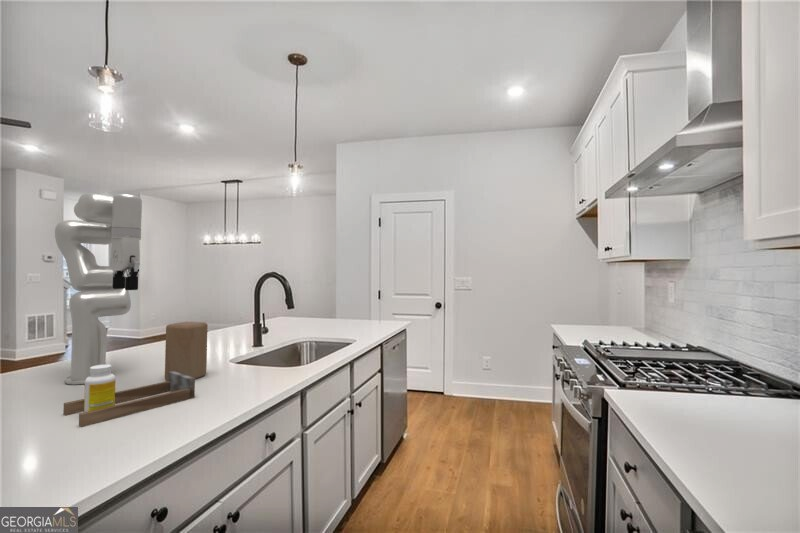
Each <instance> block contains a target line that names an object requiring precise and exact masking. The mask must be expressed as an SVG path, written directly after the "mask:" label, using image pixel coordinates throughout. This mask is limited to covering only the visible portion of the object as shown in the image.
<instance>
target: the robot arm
mask: <svg viewBox="0 0 800 533" xmlns="http://www.w3.org/2000/svg"><path fill="white" fill-rule="evenodd" d="M142 206H143V201H142V198H141V197H140V196H138V195H135V194H128V193H116V194H114V195H108V194H103V193H96V192H95V193H94V192H90V193H89V192H87V193H83V194H81V195H80V197H79V198H78V201H77V202H76V203H75V204H74V207H73V213H74V215H75V216H76V217H77V219H75V220H74V219H72V220H71V219H69V220H62V221H60V222H58V223H57V224H56V226H55V228H54V238H55V243H56V245H57V248H58V250H59V252H60V253H61V254H62V256H63V257H64V260H65V263H66V267H67V272H68V278H69V282H70V286H71V288H72V289H73V290H75V291H77V292H75V293H74V294H72V295H71V296H70V298H69V300H68V302H69V303H68V305H69V312H70V316H71V317H70V318H71V352H70V355H71V356H70V358H71V359H70V360H71V361H70V376H68V377H66V378H65V379H64V383H65V384H67V385H85V380H86V378H88V377H89V376H90V375H91V373H90V367H92V366H96V365H107V364H106V362H107V358H106V357H107V327H106V326H105V324H104V323H103V322H102V321H101V320H100V319H99V318H102V317H113V316H114V317H116V316H123V315H126V314H127V313H129V311H130V310H131V306H132V303H131V294H130V293H129V292H130V291H138V290H139V275H140V274H139V273H140V265H141V264H140V262H141V261H140V257H141V256H140V254H141V253H140V241H141V240H142V217H143V216H142V211H143V207H142ZM78 219H79V220H78ZM83 244H87V245H88V244H89V245H102V246H103V245H104V246H105V245H111V248H110V249H111V250H110V259H109V265H100V264H99V265H98V263H97V260H96V256H95V255H94V253H93V252H92V251H91V250H89V249H88V248H87V247H86V246H84V245H83ZM125 274H126V276H125Z"/></svg>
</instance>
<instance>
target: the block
mask: <svg viewBox="0 0 800 533" xmlns="http://www.w3.org/2000/svg"><path fill="white" fill-rule="evenodd" d="M208 325H209V324H208V323H207V322H205V321H204V322H201V321H182V322H181V321H180V322H176V323H169V324H167V325H166V326H165V351H164V352H165V356H164V357H165V358H164V359H165V360H164V379H165V380H166V381H168V375H169V372H171V371H175V372H178V373H181V374H184V375H187V376H190V377H193V378H195V380H196V379H199V378H201V377H204V376H206V374H207V363H208V362H207V361H208V360H207V359H208V358H207V357H208Z"/></svg>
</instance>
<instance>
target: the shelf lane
mask: <svg viewBox="0 0 800 533" xmlns="http://www.w3.org/2000/svg"><path fill="white" fill-rule="evenodd" d="M195 387H196V379H195V378H193V377H190V376H187V375H184V374H181V373H178V372H175V371H171V372H169V375H168V380H166V381H163V382H156V383H153V384H149V385H143V386H137V387H134V388H129V389H124V390H120V391H115V405H114V406H109V407H105V408H101V409H97V410H92V411H88V412H84V398H82V399H77V400H72V401H67V402H64V403H63V409H62V410H63V414H62V415H63V416H68V415H74V414H78V426H79V427H80V428H83V427H87V426H90V424H91V425H93V424H98V423H102V422H106V421H109V419H110V420H114V419H116V418H117V417H118V418H121V416H122V417H125V416H129V415H133V414H136V413H141V412H144V411H148V410H152V409H156V408H159V407H163V406H167V405H171V404H175V403H179V402H183V401H186V400H190V399H194V398H195V394H196V393H195V392H196V390H195V389H196V388H195ZM113 418H114V419H113ZM118 418H117V419H118ZM105 420H106V421H105ZM101 421H102V422H101ZM86 425H87V426H86Z"/></svg>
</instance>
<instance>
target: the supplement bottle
mask: <svg viewBox="0 0 800 533" xmlns="http://www.w3.org/2000/svg"><path fill="white" fill-rule="evenodd" d="M111 371H112V364H106V365H96V366H92V367H90V373H91V375H90V376H89V377H88V378H86V380H85V384H84V398H83V399H84V411H83V413H84V412H88V411H92V410H97V409H101V408H105V407H109V406H114V405H116V404H115V392H116V375H115V374H114V373H111Z"/></svg>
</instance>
